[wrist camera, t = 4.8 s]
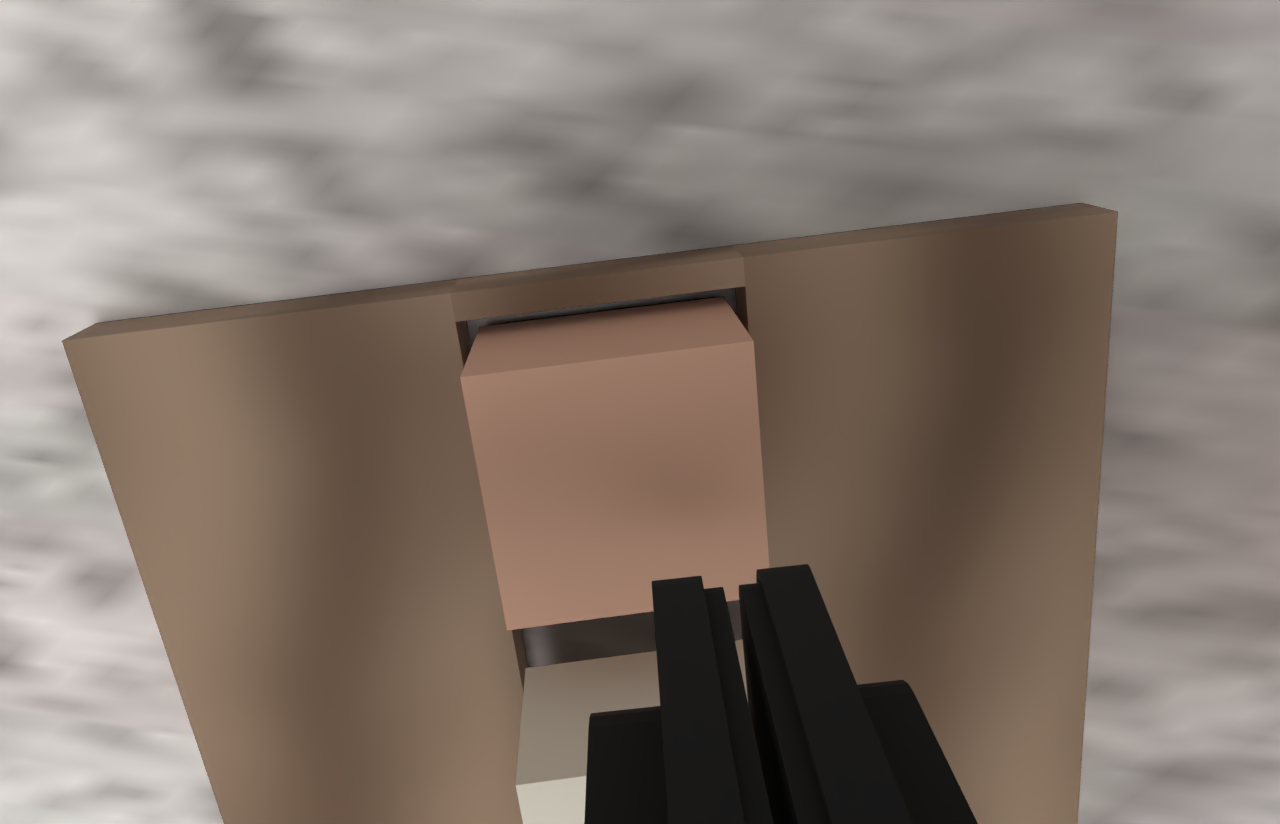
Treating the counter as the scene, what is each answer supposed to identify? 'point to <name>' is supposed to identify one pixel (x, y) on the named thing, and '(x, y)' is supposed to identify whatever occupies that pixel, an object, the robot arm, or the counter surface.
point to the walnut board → (459, 537)
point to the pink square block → (617, 457)
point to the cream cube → (575, 727)
